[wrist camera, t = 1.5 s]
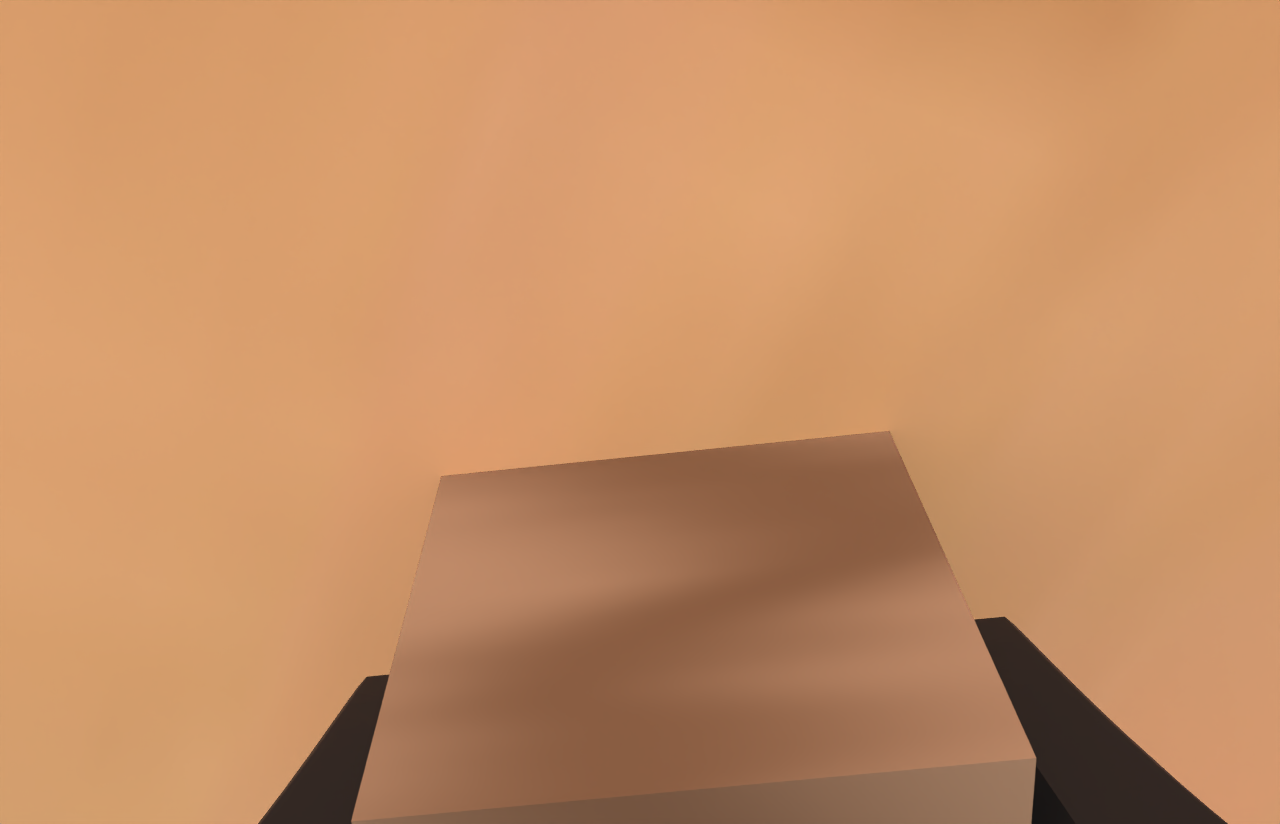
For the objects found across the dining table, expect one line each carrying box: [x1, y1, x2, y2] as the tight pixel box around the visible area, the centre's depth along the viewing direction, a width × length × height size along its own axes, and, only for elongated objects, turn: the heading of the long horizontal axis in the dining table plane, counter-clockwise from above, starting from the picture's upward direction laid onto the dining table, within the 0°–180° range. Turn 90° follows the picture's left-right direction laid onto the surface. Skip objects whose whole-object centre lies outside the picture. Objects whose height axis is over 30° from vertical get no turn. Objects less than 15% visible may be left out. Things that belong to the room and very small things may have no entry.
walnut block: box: [351, 431, 1036, 824], centre depth 10 cm, size 4×4×4 cm
